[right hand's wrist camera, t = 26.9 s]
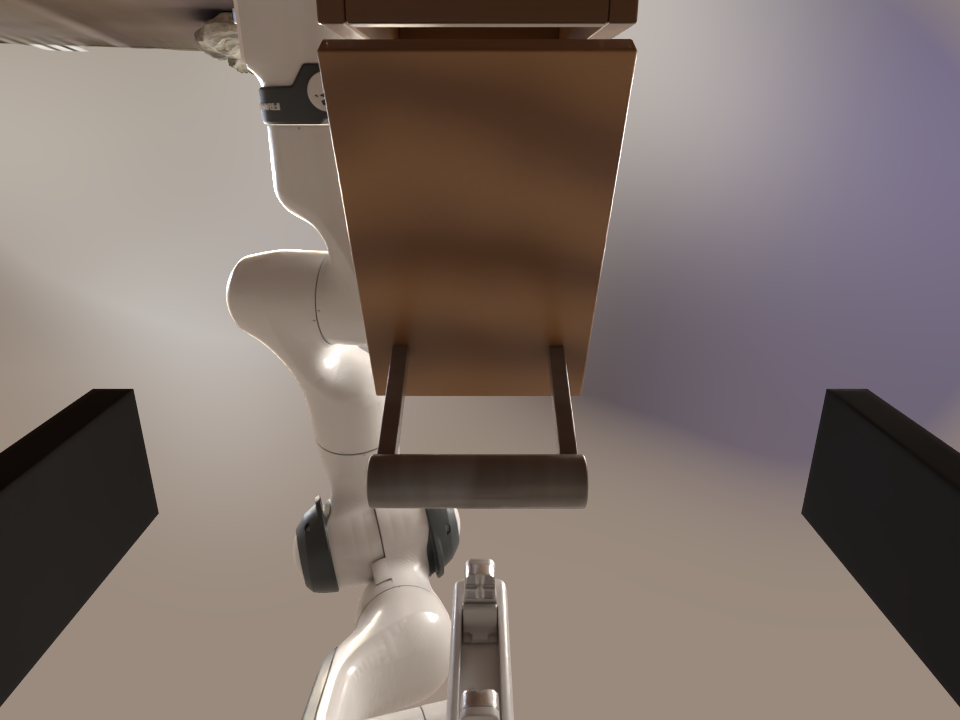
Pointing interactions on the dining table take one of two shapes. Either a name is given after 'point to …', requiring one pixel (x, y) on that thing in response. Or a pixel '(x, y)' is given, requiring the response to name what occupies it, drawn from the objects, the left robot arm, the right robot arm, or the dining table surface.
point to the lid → (477, 239)
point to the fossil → (221, 41)
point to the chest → (477, 18)
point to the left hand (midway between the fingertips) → (479, 625)
